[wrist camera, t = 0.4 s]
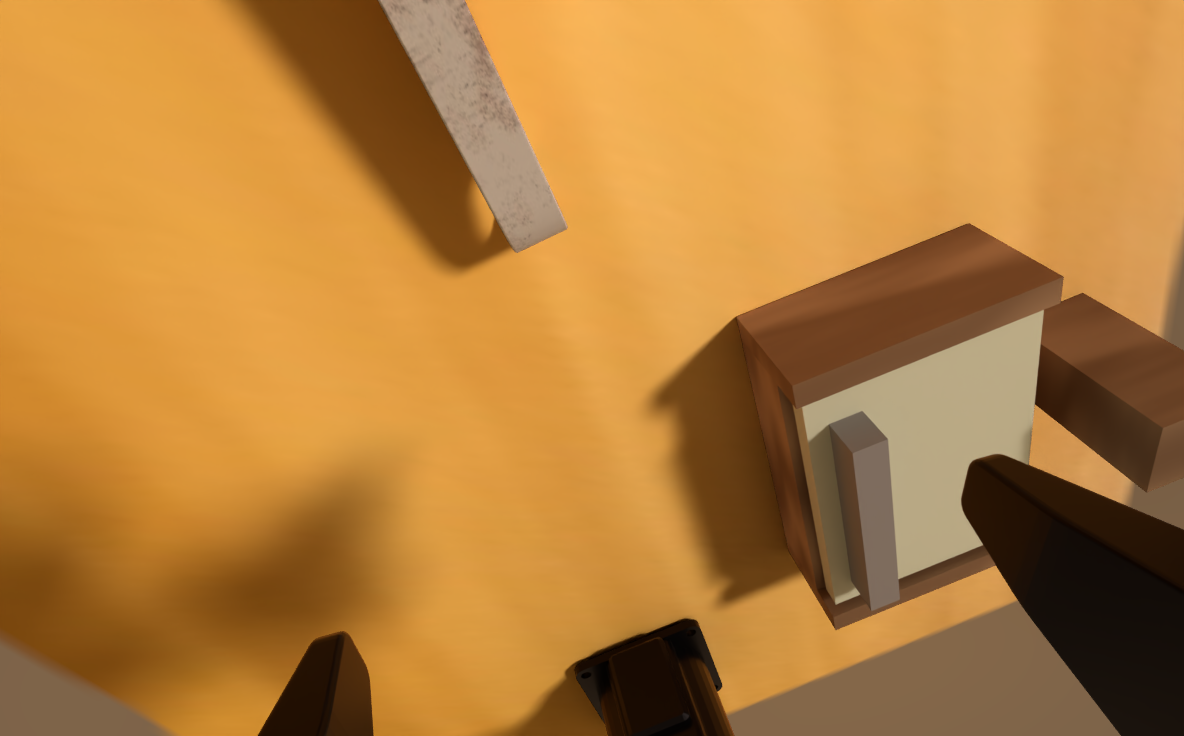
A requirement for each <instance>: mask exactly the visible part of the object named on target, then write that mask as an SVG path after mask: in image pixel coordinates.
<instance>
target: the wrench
mask: <svg viewBox="0 0 1184 736" xmlns="http://www.w3.org/2000/svg"><path fill="white" fill-rule="evenodd" d="M378 2H379V3H380V5H381V7H382V9H383V11H384V13H385V15H386V16H387V18H388V20H389V22H390V24H391V26H392V28H393V29H394V31H395V33H396V35H397V37H398V39H399V41H400V42H401V44H402V46H403V48H404V50H405V52H406V54H407V55H408V57H409V59H410V61H411V63H412V65H413V67H414V68H415V70H416V72H417V74H418V76H419V78H420V80H421V81H422V83H423V85H424V87H425V89H426V91H427V93H428V94H429V96H430V98H431V100H432V102H433V104H434V106H435V107H436V109H437V111H438V113H439V115H440V117H441V119H442V120H443V122H444V124H445V126H446V128H447V130H448V132H449V133H450V135H451V137H452V139H453V141H454V143H455V145H456V146H457V148H458V150H459V152H460V154H461V156H462V158H463V159H464V161H465V163H466V165H467V167H468V169H469V171H470V172H471V174H472V176H473V178H474V180H475V182H476V184H477V185H478V187H479V189H480V191H481V193H482V195H483V197H484V198H485V200H486V202H487V204H488V206H489V208H490V210H491V211H492V213H493V215H494V217H495V219H496V221H497V223H498V224H499V226H500V228H501V230H502V232H503V234H504V235H505V237H506V239H507V241H508V242H509V244H510V246H511V247H512V249H513V250H514V251H515V252H516V253H518V252H520V251H522V250H524V249H526V248H528V247H531V246H533V245H535V244H537V243H539V242H541V241H543V240H545V239H547V238H549V237H551V236H553V235H556V234H558V233H560V232H562V231H564V230H566V229H567V228H568V226H567V224H566V221H565V219H564V217H563V215H562V212H561V210H560V208H559V206H558V203H557V201H556V199H555V197H554V195H553V192H552V190H551V188H550V186H549V184H548V182H547V179H546V177H545V175H544V173H543V171H542V168H541V166H540V164H539V162H538V160H537V157H536V155H535V153H534V151H533V149H532V146H531V144H530V142H529V140H528V138H527V135H526V133H525V131H524V129H523V127H522V125H521V122H520V120H519V118H518V116H517V114H516V111H515V109H514V107H513V105H512V103H511V100H510V98H509V96H508V94H507V92H506V89H505V87H504V85H503V83H502V81H501V78H500V76H499V74H498V72H497V70H496V68H495V65H494V63H493V61H492V59H491V57H490V54H489V52H488V50H487V48H486V46H485V43H484V41H483V39H482V37H481V35H480V32H479V30H478V28H477V26H476V24H475V21H474V19H473V17H472V15H471V13H470V10H469V8H468V6H467V4H466V2H465V0H378Z"/></svg>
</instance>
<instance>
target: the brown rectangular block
mask: <svg viewBox="0 0 1184 736" xmlns="http://www.w3.org/2000/svg"><path fill="white" fill-rule="evenodd" d="M1035 405H1037V406H1038V407H1039V408H1040V409H1042V410H1043V411H1044V412H1046V413H1047V414H1048V415H1049V416H1051V417H1052V418H1053V419H1054V420H1056V421H1057V422H1058V423H1059V424H1061V425H1062V426H1063V427H1064V428H1066V429H1067V430H1068V431H1070V432H1071V433H1072V434H1073V435H1075V436H1076V437H1077V438H1078V439H1080V440H1081V441H1082V442H1083V443H1085V444H1086V445H1087V446H1088V447H1090V448H1091V449H1092V450H1094V451H1095V452H1096V453H1097V454H1099V455H1100V456H1101V457H1102V458H1104V459H1105V460H1106V461H1107V462H1109V463H1110V464H1111V465H1112V466H1114V467H1115V468H1116V469H1118V470H1119V471H1120V472H1121V473H1123V474H1124V475H1125V476H1126V477H1128V478H1129V479H1130V480H1131V481H1133V482H1134V483H1135V484H1136V485H1138V486H1139V487H1140V488H1142V489H1143V490H1144V491H1145V492H1149V491H1152V490H1154V489H1157V488H1159V487H1162V486H1164V485H1167V484H1169V483H1171V482H1174V481H1177V480H1179V479H1182V478H1184V351H1183V350H1181V349H1180V348H1178V347H1176V346H1175V345H1173V344H1171V343H1169V342H1168V341H1166V340H1164V339H1162V338H1161V337H1159V336H1157V335H1155V334H1154V333H1152V332H1150V331H1148V330H1147V329H1145V328H1143V327H1141V326H1140V325H1138V324H1136V323H1135V322H1133V321H1131V320H1129V319H1128V318H1126V317H1124V316H1122V315H1121V314H1119V313H1117V312H1115V311H1114V310H1112V309H1110V308H1108V307H1107V306H1105V305H1103V304H1101V303H1100V302H1098V301H1096V300H1094V299H1093V298H1091V297H1089V296H1087V295H1086V294H1084V293H1082V294H1079V295H1077V296H1074V297H1072V298H1069V299H1067V300H1064V301H1062V302H1061V303H1060V304H1057V305H1055V306H1052V307H1050V308H1047V309H1045V310H1044V314H1043V324H1042V335H1041V345H1040V355H1039V365H1038V375H1037V385H1036V395H1035Z"/></svg>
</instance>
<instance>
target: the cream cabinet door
mask: <svg viewBox="0 0 1184 736" xmlns="http://www.w3.org/2000/svg"><path fill="white" fill-rule="evenodd" d="M1043 314H1044V310H1042V311H1040V312H1037V313H1035V314H1032V315H1030V316H1027V317H1025V318H1022V319H1020V320H1017V321H1015V322H1012V323H1010V324H1007V325H1005V326H1002V327H1000V328H997V329H995V330H993V331H990V332H988V333H985V334H983V335H980V336H978V337H975V338H973V339H970V340H968V341H965V342H963V343H960V344H958V345H955V346H953V347H950V348H948V349H945V350H943V351H940V352H938V353H935V354H933V355H930V356H928V357H925V358H923V359H920V360H918V361H915V362H913V363H911V364H908V365H906V366H903V367H901V368H898V369H896V370H893V371H891V372H888V373H886V374H883V375H881V376H878V377H876V378H873V379H871V380H868V381H866V382H863V383H861V384H858V385H856V386H853V387H851V388H848V389H846V390H843V391H841V392H838V393H836V394H834V395H831V396H829V397H826V398H824V399H821V400H819V401H816V402H814V403H811V404H809V405H806V406H804V407H801V408H799V409H796V408H795V407H794V406H793V408H794V414H795V419H796V425H797V430H798V436H799V441H800V447H801V453H802V458H803V464H804V469H805V475H806V480H807V486H808V491H809V497H810V502H811V508H812V513H813V519H814V524H815V530H816V535H817V541H818V546H819V552H820V557H821V563H822V568H823V574H824V579H825V585H826V590H827V591H828V593H829V594H830V596H831V598H832V599H833V601H834V602H835V604H838V603H841V602H843V601H846V600H848V599H851V598H853V597H856V596H858V595H861V596H862V598H863V599H864V601H865V602H866V604H867V605H868V607H869V608H870V610H871V611H873V610H876V609H878V608H881V607H883V606H885V605H888V604H890V603H893V602H895V601H898V600H900V594H899V580H898V579H900V578H903V577H905V576H908V575H910V574H913V573H915V572H918V571H920V570H923V569H925V568H928V567H930V566H932V565H935V564H937V563H940V562H942V561H945V560H947V559H950V558H952V557H955V556H957V555H960V554H962V553H965V552H967V551H970V550H972V549H975V548H977V547H979V546H982V545H983V544H982V542H981V541H980V539H979V537H978V536H977V534H976V533H975V531H974V529H973V528H972V526H971V525H970V523H969V521H968V520H967V518H966V516H965V514H964V512H963V510H962V506H961V496H962V492H963V488H964V483H965V479H966V475H967V470H968V467H969V464H970V463H971V462H972V461H973V460H975V459H978V458H981V457H985V456H989V455H992V454H1003V455H1006V456H1009V457H1011V458H1013V459H1016V460H1018V461H1021V462H1023V463H1025V464H1028V465H1029V456H1030V446H1031V436H1032V426H1033V416H1034V406H1035V395H1036V385H1037V375H1038V365H1039V355H1040V345H1041V335H1042V324H1043Z"/></svg>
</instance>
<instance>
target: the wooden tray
mask: <svg viewBox="0 0 1184 736" xmlns="http://www.w3.org/2000/svg"><path fill="white" fill-rule="evenodd" d="M1063 278H1064V277H1063V276H1061V275H1060V274H1058V273H1056V272H1054V271H1052V270H1051V269H1049V268H1047V267H1045V266H1044V265H1042V264H1040V263H1038V262H1037V261H1035V260H1033V259H1031V258H1029V257H1028V256H1026V255H1024V254H1022V253H1021V252H1019V251H1017V250H1015V249H1014V248H1012V247H1010V246H1008V245H1007V244H1005V243H1003V242H1001V241H999V240H998V239H996V238H994V237H992V236H991V235H989V234H987V233H985V232H984V231H982V230H980V229H978V228H976V227H975V226H973V225H971V224H966V225H964V226H961V227H959V228H956V229H954V230H951V231H949V232H946V233H944V234H941V235H939V236H936V237H934V238H931V239H929V240H926V241H924V242H921V243H919V244H916V245H914V246H911V247H909V248H906V249H904V250H902V251H899V252H897V253H894V254H892V255H889V256H887V257H884V258H882V259H879V260H877V261H874V262H872V263H869V264H867V265H864V266H862V267H859V268H857V269H854V270H852V271H849V272H847V273H844V274H842V275H839V276H837V277H834V278H832V279H829V280H827V281H824V282H822V283H819V284H817V285H814V286H812V287H809V288H807V289H804V290H802V291H799V292H797V293H794V294H792V295H789V296H787V297H784V298H782V299H779V300H777V301H775V302H772V303H770V304H767V305H765V306H762V307H760V308H757V309H755V310H752V311H750V312H747V313H745V314H742V315H740V316H737V317H736V318H737V322H738V327H739V331H740V335H741V340H742V344H743V349H744V353H745V358H746V362H747V367H748V371H749V376H750V380H751V385H752V389H753V393H754V398H755V402H756V407H757V411H758V416H759V420H760V425H761V429H762V434H763V438H764V443H765V447H766V452H767V456H768V460H769V465H770V469H771V474H772V478H773V483H774V487H775V492H776V496H777V501H778V505H779V510H780V514H781V518H782V523H783V527H784V532H785V536H786V541H787V545H788V550H789V553H790V554H791V556H792V558H793V559H794V561H795V563H796V564H797V566H798V568H799V569H800V571H801V573H802V574H803V576H804V578H805V579H806V581H807V583H808V584H809V586H810V588H811V589H812V591H813V593H814V595H815V596H816V598H817V600H818V601H819V603H820V605H821V606H822V608H823V610H824V611H825V613H826V615H827V616H828V618H829V620H830V621H831V623H832V625H833V626H834V628H835V630H837V629H840V628H842V627H845V626H847V625H849V624H852V623H854V622H857V621H859V620H862V619H864V618H867V617H869V616H872V615H874V614H877V613H879V612H882V611H884V610H887V609H889V608H892V607H894V606H896V605H899V604H901V603H904V602H906V601H909V600H911V599H914V598H916V597H919V596H921V595H924V594H926V593H929V592H931V591H934V590H936V589H939V588H941V587H943V586H946V585H948V584H951V583H953V582H956V581H958V580H961V579H963V578H966V577H968V576H971V575H973V574H976V573H978V572H981V571H983V570H985V569H988V568H990V567H993V566H995V563H994V562H993V560H992V558H991V557H990V555H989V553H988V552H987V550H986V549H985V547H984V545H982V546H979V547H977V548H975V549H972V550H970V551H967V552H965V553H962V554H960V555H957V556H955V557H952V558H950V559H947V560H945V561H942V562H940V563H937V564H935V565H932V566H930V567H928V568H925V569H923V570H920V571H918V572H915V573H913V574H910V575H908V576H905V577H903V578H900V579H898V580H899V594H900V600H898V601H895V602H893V603H890V604H888V605H885V606H883V607H881V608H878V609H876V610H873V611H871V610H870V608H869V607H868V605H867V604H866V602H865V601H864V599H863V598H862V596H861V595H858V596H856V597H853V598H851V599H848V600H846V601H843V602H841V603H838V604H835V602H834V601H833V599H832V598H831V596H830V594H829V593H828V591H827V590H826V585H825V579H824V574H823V568H822V563H821V557H820V552H819V546H818V541H817V535H816V530H815V524H814V519H813V513H812V508H811V502H810V497H809V491H808V486H807V480H806V475H805V469H804V464H803V458H802V453H801V447H800V441H799V436H798V430H797V425H796V419H795V414H794V408H793V406H794V407H795V408H796V409H799V408H801V407H804V406H806V405H809V404H811V403H814V402H816V401H819V400H821V399H824V398H826V397H829V396H831V395H834V394H836V393H838V392H841V391H843V390H846V389H848V388H851V387H853V386H856V385H858V384H861V383H863V382H866V381H868V380H871V379H873V378H876V377H878V376H881V375H883V374H886V373H888V372H891V371H893V370H896V369H898V368H901V367H903V366H906V365H908V364H911V363H913V362H915V361H918V360H920V359H923V358H925V357H928V356H930V355H933V354H935V353H938V352H940V351H943V350H945V349H948V348H950V347H953V346H955V345H958V344H960V343H963V342H965V341H968V340H970V339H973V338H975V337H978V336H980V335H983V334H985V333H988V332H990V331H993V330H995V329H997V328H1000V327H1002V326H1005V325H1007V324H1010V323H1012V322H1015V321H1017V320H1020V319H1022V318H1025V317H1027V316H1030V315H1032V314H1035V313H1037V312H1040V311H1042V310H1045V309H1047V308H1050V307H1052V306H1055V305H1057V304H1060V303H1061V295H1062V286H1063Z"/></svg>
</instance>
